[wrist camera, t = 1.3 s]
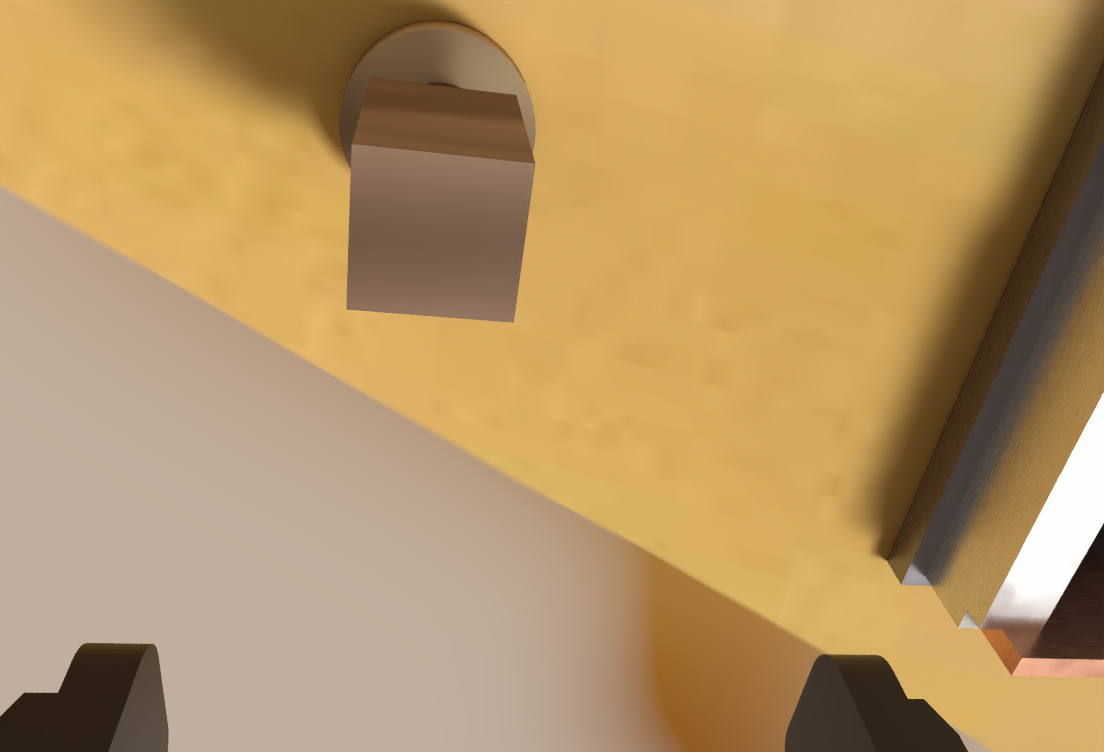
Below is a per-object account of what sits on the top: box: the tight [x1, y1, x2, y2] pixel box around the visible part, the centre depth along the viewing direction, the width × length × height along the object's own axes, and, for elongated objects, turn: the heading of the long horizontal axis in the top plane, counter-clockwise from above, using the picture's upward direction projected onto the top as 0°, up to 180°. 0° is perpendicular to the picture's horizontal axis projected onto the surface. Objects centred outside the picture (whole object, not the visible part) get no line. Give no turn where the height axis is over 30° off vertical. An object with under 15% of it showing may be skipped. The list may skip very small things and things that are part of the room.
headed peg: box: [340, 20, 535, 323], centre depth 25 cm, size 6×6×10 cm
